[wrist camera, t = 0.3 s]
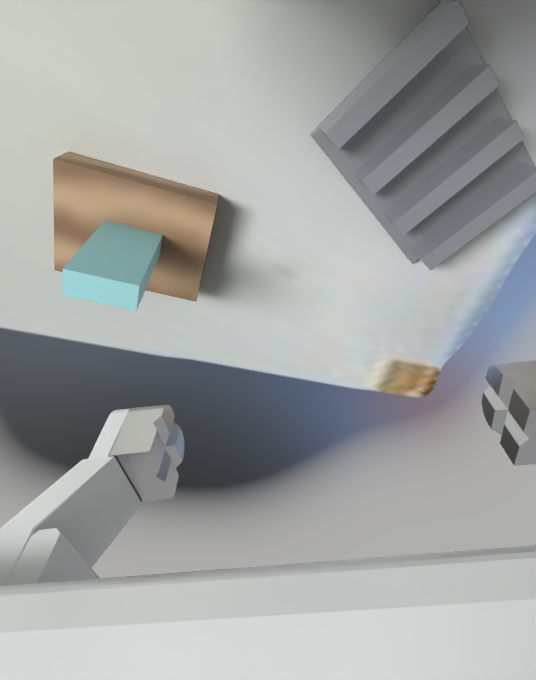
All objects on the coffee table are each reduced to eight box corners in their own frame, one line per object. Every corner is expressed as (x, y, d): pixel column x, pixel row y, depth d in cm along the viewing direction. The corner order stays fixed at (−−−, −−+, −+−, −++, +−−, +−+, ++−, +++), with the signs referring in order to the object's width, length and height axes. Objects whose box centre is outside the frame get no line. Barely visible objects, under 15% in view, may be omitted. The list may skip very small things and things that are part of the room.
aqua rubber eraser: (104, 220, 41) (62, 268, 31) (162, 234, 42) (139, 285, 32) (103, 242, 42) (62, 295, 32) (159, 255, 44) (136, 310, 34)
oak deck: (68, 151, 41) (53, 158, 37) (218, 194, 44) (217, 204, 41) (67, 255, 47) (54, 270, 44) (198, 286, 50) (196, 301, 47)
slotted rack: (310, 134, 41) (317, 141, 37) (444, -3, 35) (469, -12, 31) (409, 259, 50) (423, 275, 46) (529, 167, 44) (556, 176, 40)
